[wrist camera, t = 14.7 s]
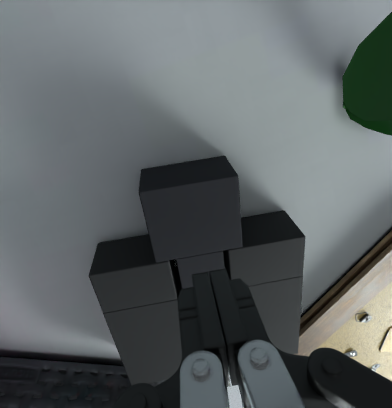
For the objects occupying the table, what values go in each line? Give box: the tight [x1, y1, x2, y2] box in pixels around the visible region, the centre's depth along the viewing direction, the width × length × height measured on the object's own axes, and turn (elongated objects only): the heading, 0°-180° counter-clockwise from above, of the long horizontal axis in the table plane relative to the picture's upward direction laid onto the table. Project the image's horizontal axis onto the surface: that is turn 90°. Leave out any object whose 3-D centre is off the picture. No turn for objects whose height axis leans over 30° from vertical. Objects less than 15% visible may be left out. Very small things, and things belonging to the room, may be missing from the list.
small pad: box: [139, 156, 243, 289], centre depth 20 cm, size 6×8×4 cm
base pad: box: [89, 211, 305, 385], centre depth 23 cm, size 14×12×4 cm
